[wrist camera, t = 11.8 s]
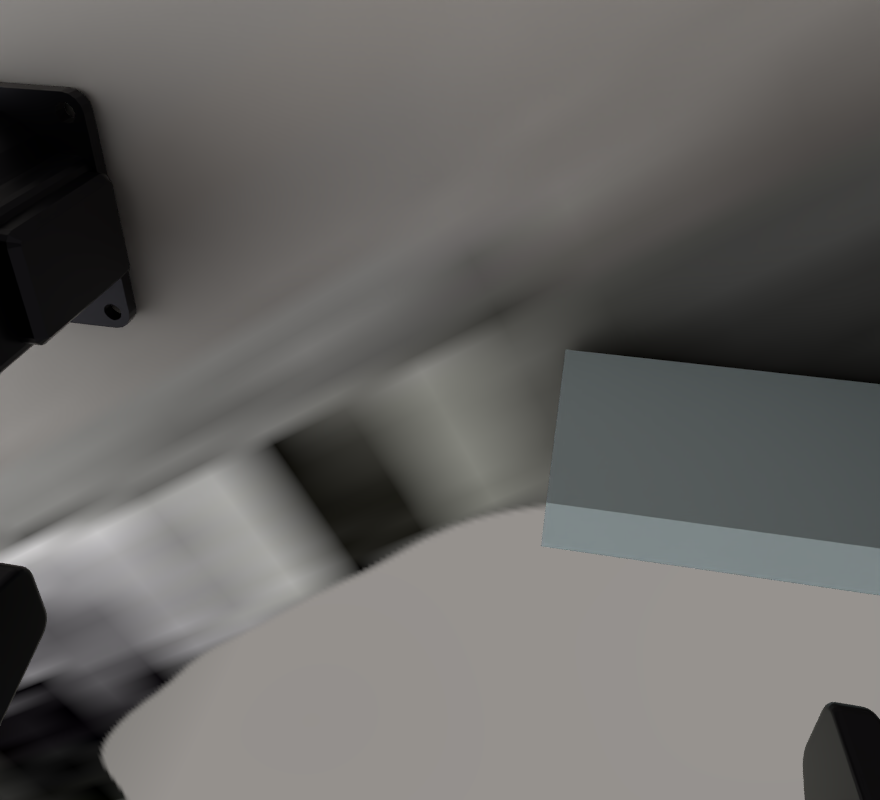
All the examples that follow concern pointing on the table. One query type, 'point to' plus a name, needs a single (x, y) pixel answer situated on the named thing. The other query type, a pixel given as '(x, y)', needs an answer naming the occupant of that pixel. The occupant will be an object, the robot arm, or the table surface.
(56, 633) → the table surface
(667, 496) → the door
